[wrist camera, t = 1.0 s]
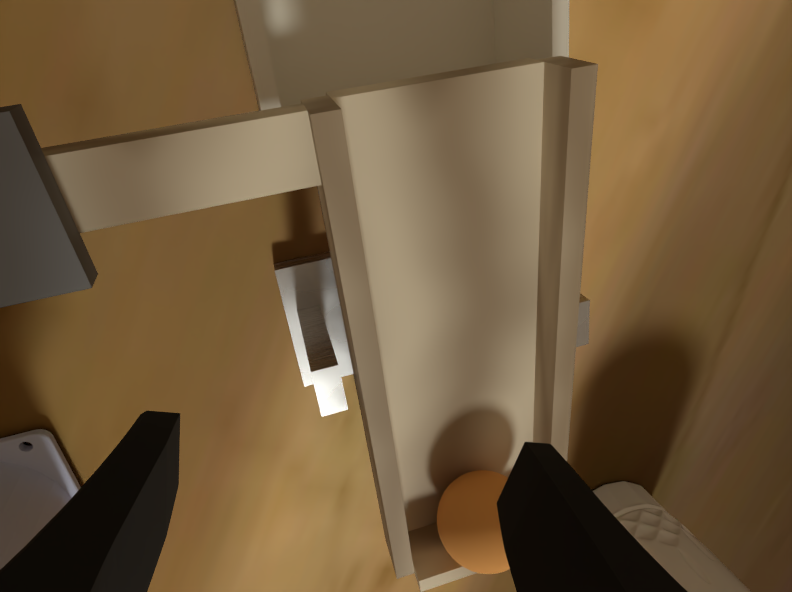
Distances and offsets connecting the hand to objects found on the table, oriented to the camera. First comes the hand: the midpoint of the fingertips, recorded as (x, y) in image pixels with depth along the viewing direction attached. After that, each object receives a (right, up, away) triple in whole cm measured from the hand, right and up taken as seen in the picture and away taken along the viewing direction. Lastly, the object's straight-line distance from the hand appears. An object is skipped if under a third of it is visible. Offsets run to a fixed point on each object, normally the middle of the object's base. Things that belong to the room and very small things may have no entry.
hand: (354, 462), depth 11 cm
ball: (+5, -6, +11) cm, 14 cm away
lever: (-2, +1, +9) cm, 9 cm away
